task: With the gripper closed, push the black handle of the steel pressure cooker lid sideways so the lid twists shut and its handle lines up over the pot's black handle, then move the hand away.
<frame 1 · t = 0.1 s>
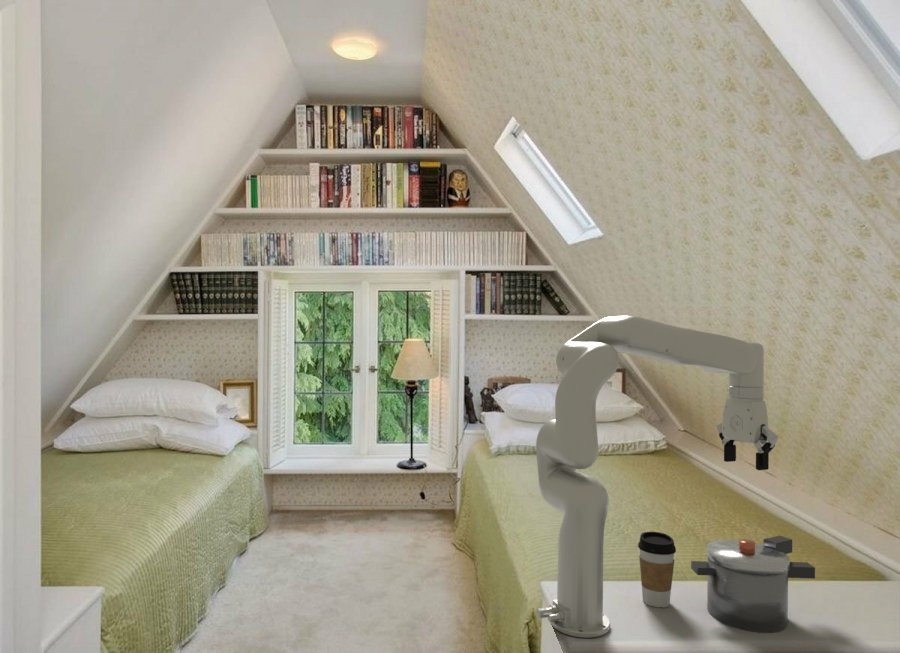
hand: (745, 465, 143), 31 cm above the table, tool pointing down, fingers open, 9 cm apart
coffee cup: (656, 602, 139), on the table
cooker pot: (746, 615, 133), on the table
cooker lid: (755, 548, 135), point 14 cm above the table, hinge at 30.0°
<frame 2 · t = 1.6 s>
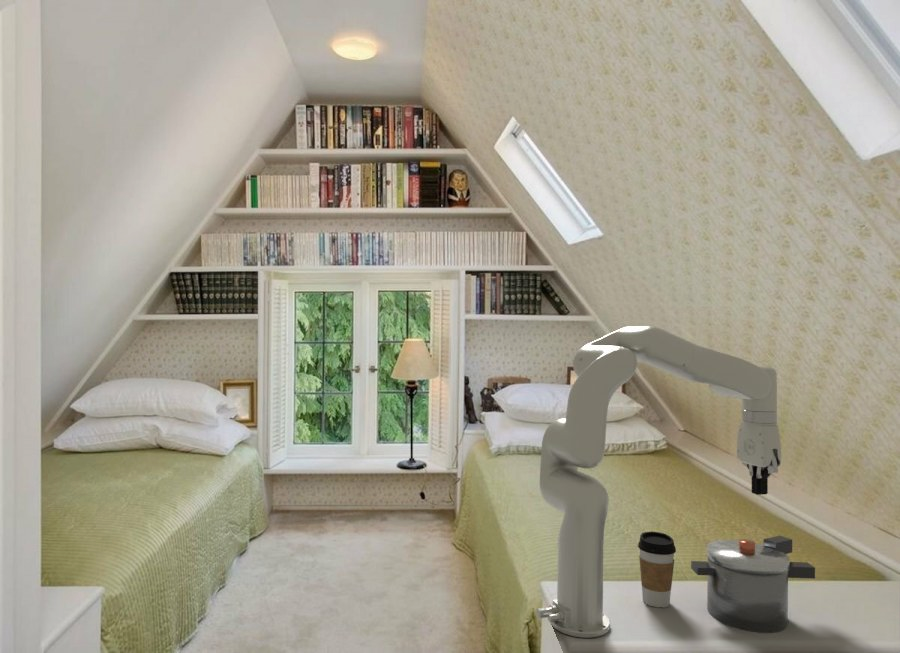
hand: (759, 493, 145), 24 cm above the table, tool pointing down, fingers closed
nothing on the table moved.
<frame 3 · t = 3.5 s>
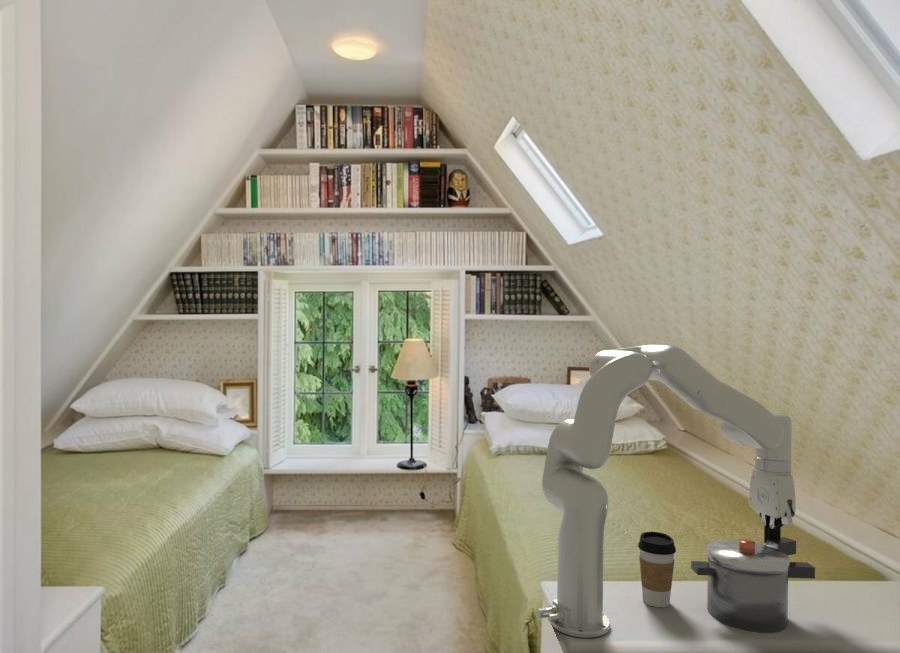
hand: (772, 543, 141), 13 cm above the table, tool pointing down, fingers closed
cooker lid: (756, 549, 134), point 14 cm above the table, hinge at 25.8°, touching gripper
everything else where it was.
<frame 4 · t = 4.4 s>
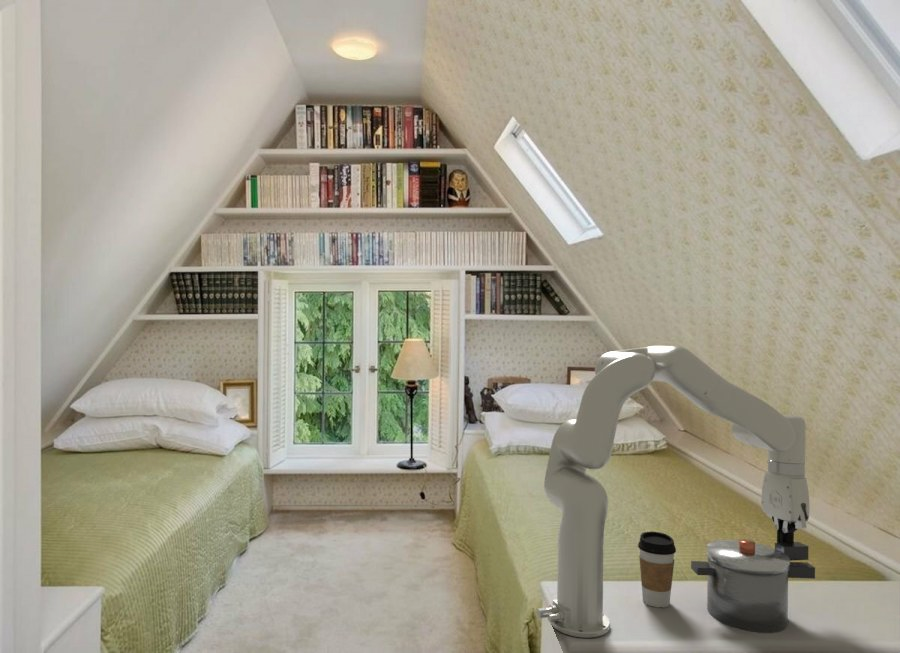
hand: (785, 548, 138), 13 cm above the table, tool pointing down, fingers closed
cooker lid: (758, 550, 134), point 14 cm above the table, hinge at 10.8°, touching gripper
everything else where it was.
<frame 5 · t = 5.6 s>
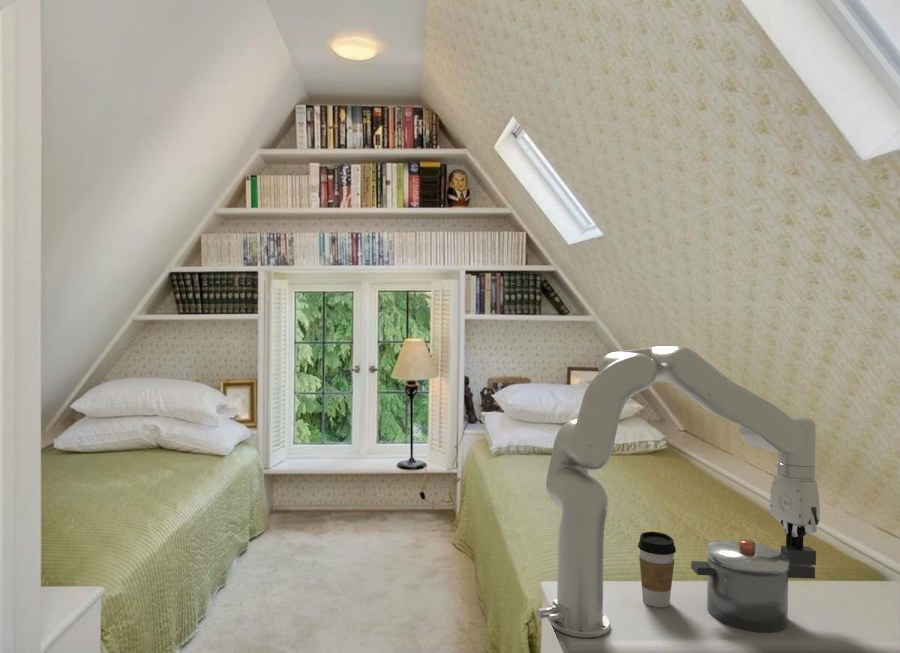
hand: (794, 552, 136), 13 cm above the table, tool pointing down, fingers closed
cooker lid: (760, 551, 133), point 14 cm above the table, hinge at -1.9°, touching gripper
everything else where it was.
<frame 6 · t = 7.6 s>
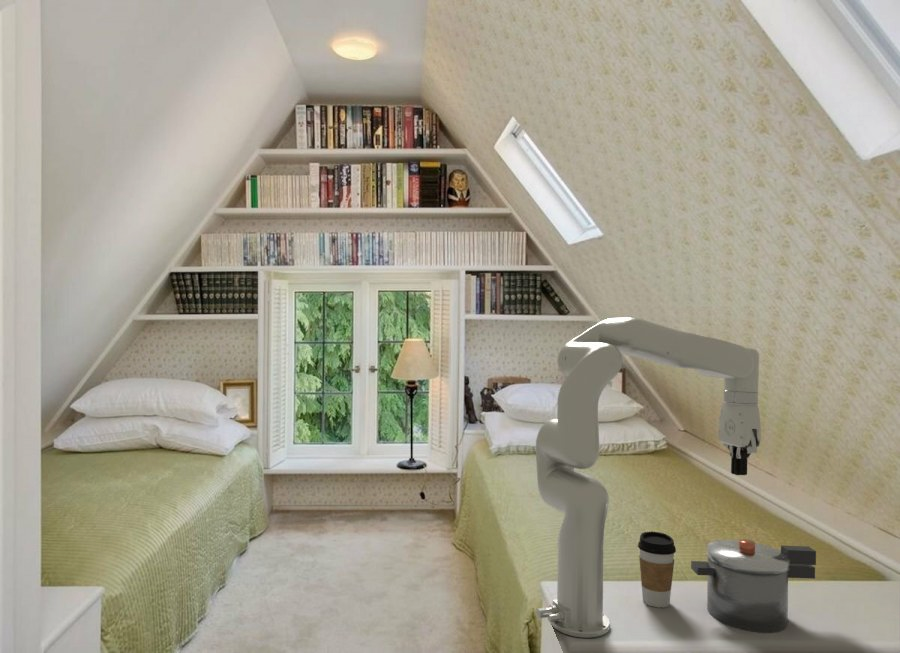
hand: (739, 474, 145), 29 cm above the table, tool pointing down, fingers closed
cooker lid: (760, 551, 133), point 14 cm above the table, hinge at -1.9°
everything else where it was.
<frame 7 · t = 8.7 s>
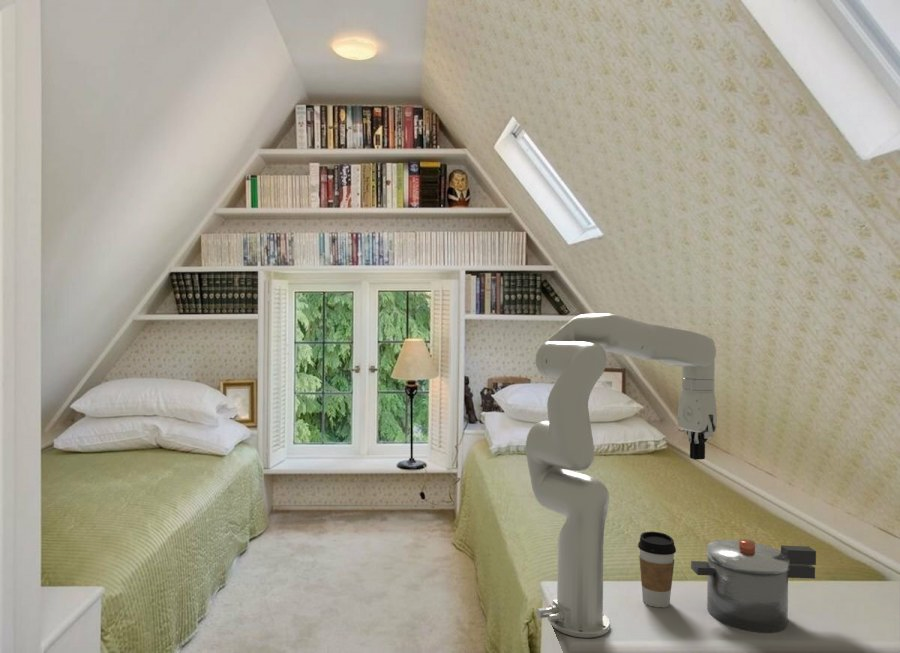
hand: (697, 458, 151), 31 cm above the table, tool pointing down, fingers closed
nothing on the table moved.
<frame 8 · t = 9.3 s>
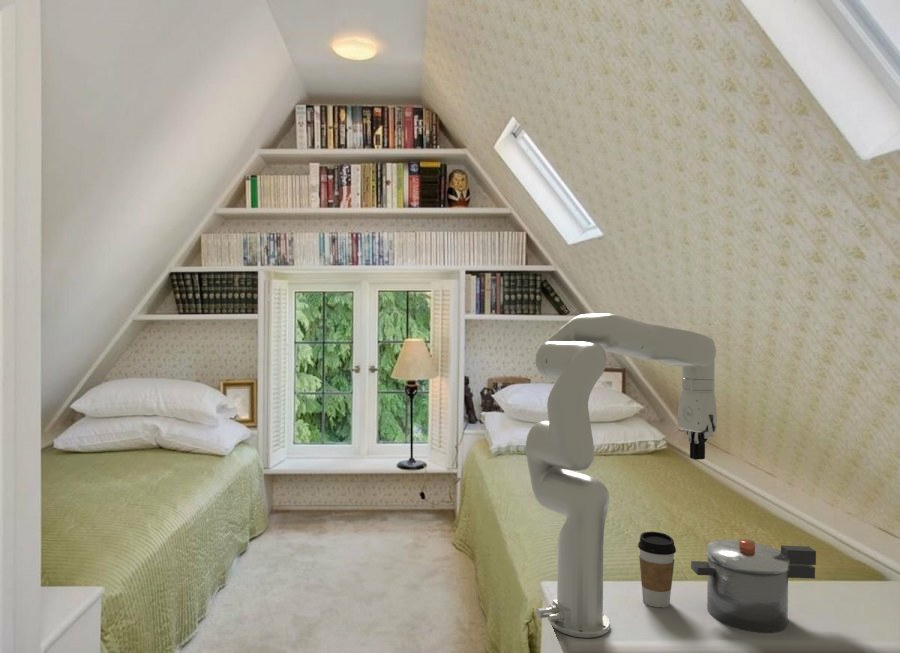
hand: (697, 458, 151), 31 cm above the table, tool pointing down, fingers closed
nothing on the table moved.
at the end: cooker lid at -2° (first picture: +30°); coffee cup moved 0.2 cm from its start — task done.
